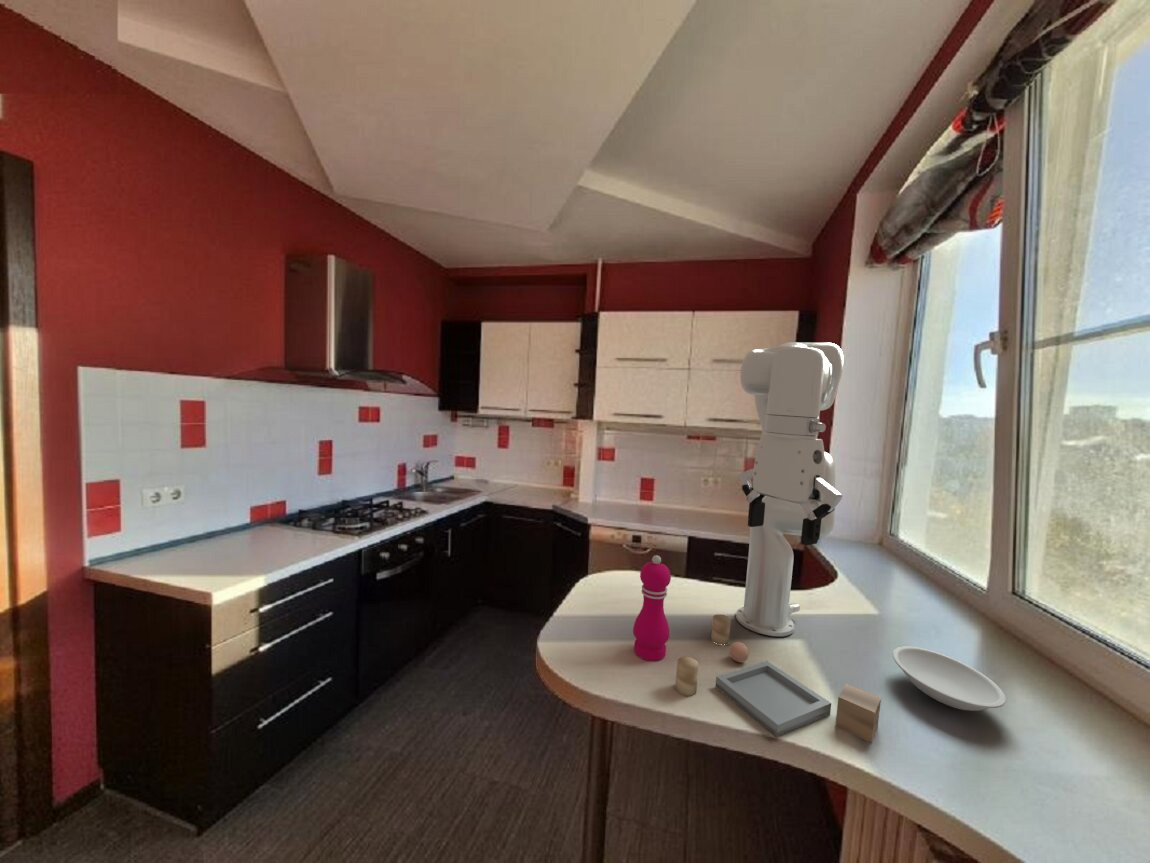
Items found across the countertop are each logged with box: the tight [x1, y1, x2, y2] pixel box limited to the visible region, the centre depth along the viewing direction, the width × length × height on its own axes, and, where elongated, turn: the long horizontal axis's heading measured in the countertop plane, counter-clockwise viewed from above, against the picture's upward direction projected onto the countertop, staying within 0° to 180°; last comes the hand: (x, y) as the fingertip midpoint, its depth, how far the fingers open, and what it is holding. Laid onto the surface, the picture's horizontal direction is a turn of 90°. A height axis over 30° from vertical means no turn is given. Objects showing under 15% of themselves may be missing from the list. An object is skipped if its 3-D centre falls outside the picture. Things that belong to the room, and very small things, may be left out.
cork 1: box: [675, 656, 699, 697], centre depth 80 cm, size 4×4×5 cm
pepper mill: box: [632, 555, 672, 662], centre depth 90 cm, size 7×7×20 cm
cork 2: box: [710, 614, 732, 646], centre depth 97 cm, size 4×4×5 cm
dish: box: [892, 645, 1007, 712], centre depth 82 cm, size 18×14×5 cm
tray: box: [714, 660, 832, 738], centre depth 79 cm, size 13×13×2 cm
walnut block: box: [834, 683, 882, 744], centre depth 73 cm, size 5×5×5 cm
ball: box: [729, 641, 750, 663], centre depth 90 cm, size 4×4×4 cm
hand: (780, 534), depth 73 cm, fingers open, 9 cm apart
